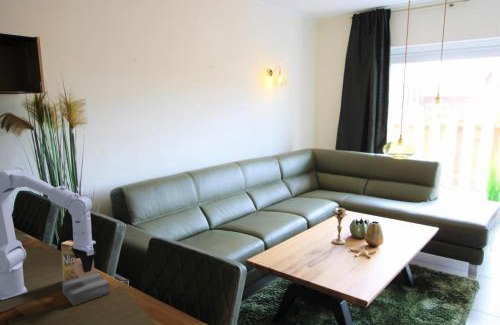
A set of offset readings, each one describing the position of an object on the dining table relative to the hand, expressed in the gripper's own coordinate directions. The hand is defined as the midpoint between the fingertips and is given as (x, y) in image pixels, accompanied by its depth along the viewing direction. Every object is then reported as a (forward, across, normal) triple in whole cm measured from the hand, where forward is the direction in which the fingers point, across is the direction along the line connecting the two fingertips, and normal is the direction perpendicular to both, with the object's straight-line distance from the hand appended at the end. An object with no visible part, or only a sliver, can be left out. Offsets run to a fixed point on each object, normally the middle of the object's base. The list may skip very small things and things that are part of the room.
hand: (84, 269), depth 125 cm
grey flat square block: (+9, 0, 0) cm, 9 cm away
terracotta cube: (+2, 0, 0) cm, 2 cm away
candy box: (+9, +11, 0) cm, 14 cm away
